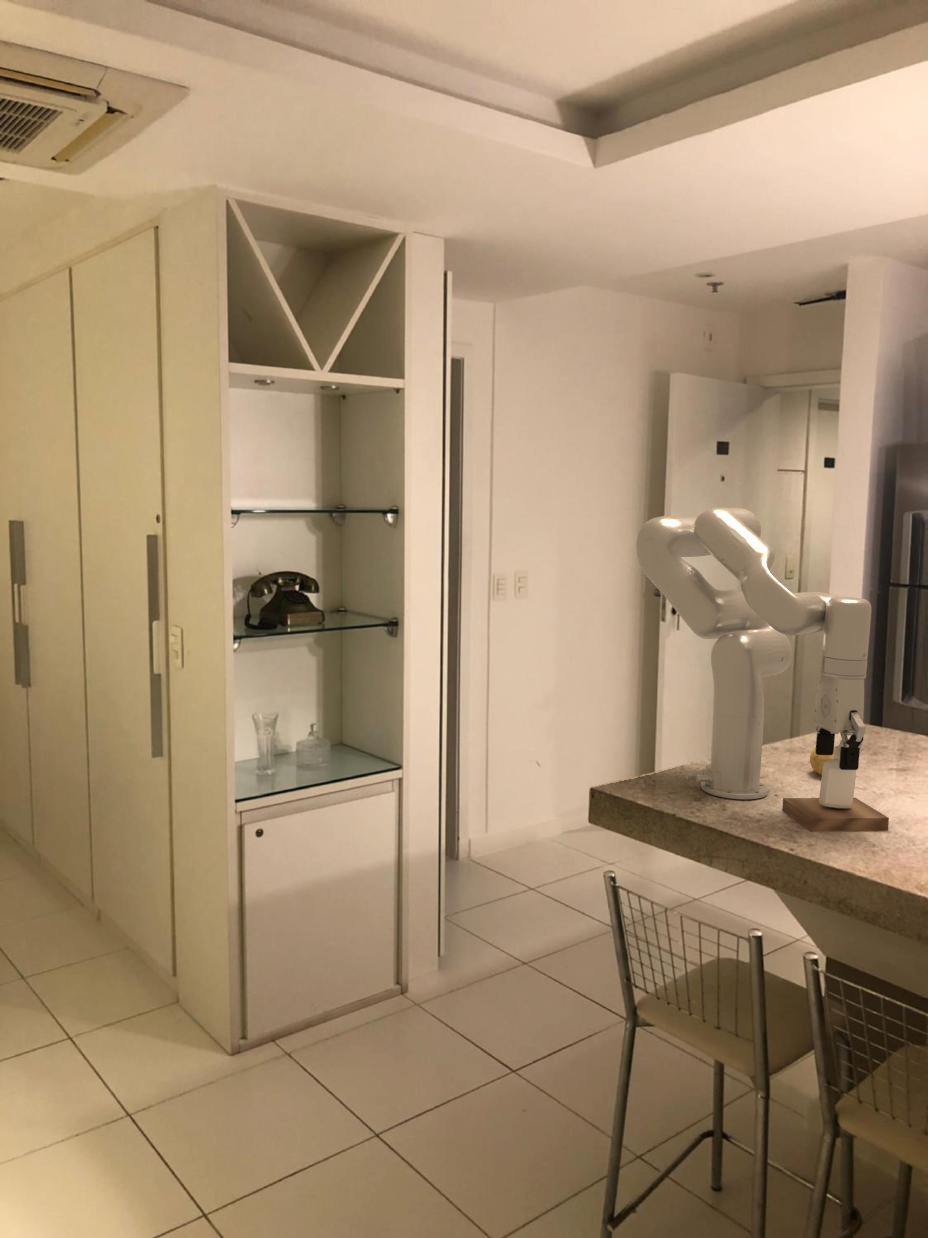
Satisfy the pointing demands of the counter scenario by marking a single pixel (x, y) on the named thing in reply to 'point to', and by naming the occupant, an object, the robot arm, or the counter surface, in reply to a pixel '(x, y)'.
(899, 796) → the counter surface
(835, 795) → the grey tapered bottle shape
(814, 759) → the potato
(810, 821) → the walnut block
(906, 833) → the counter surface
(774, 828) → the counter surface
